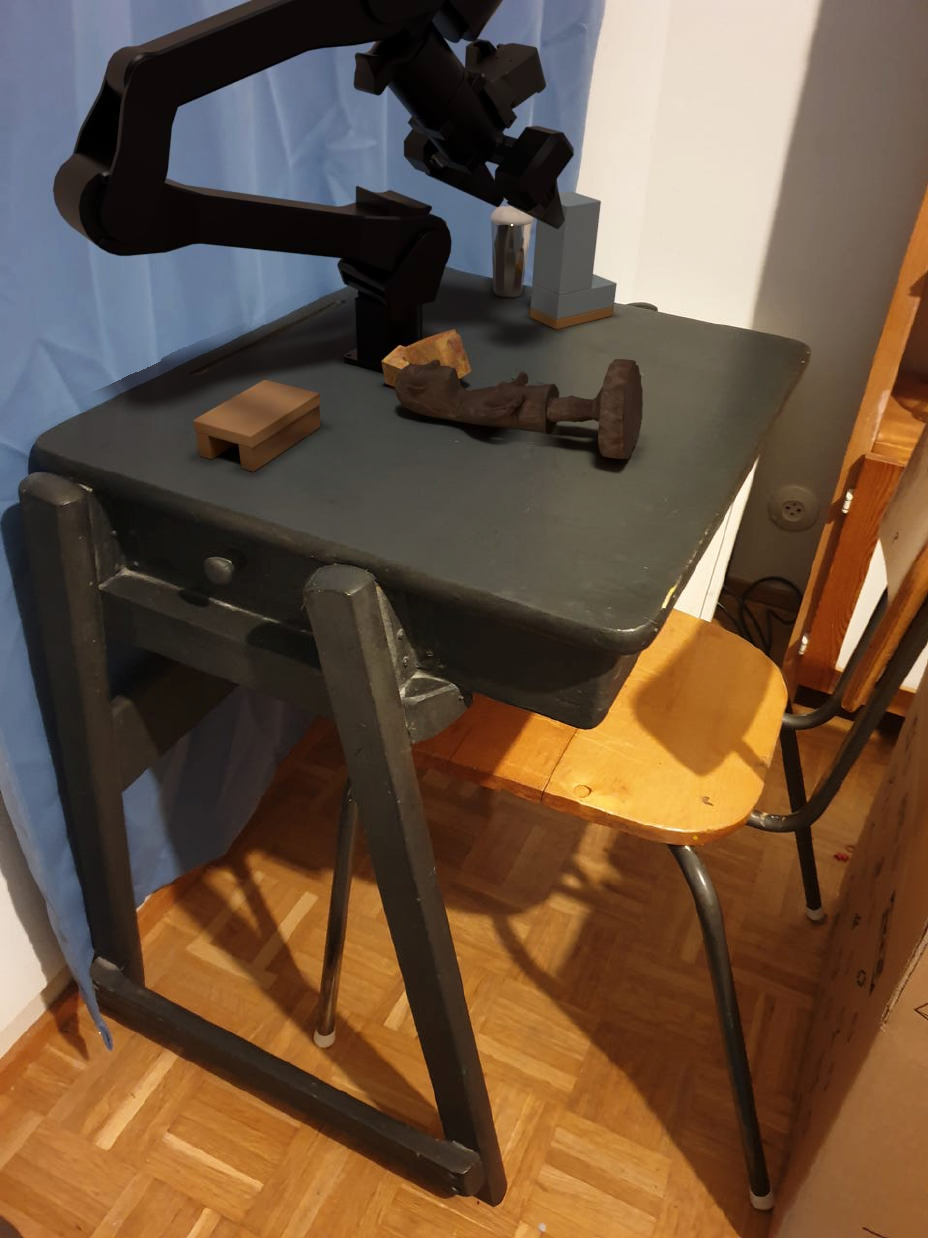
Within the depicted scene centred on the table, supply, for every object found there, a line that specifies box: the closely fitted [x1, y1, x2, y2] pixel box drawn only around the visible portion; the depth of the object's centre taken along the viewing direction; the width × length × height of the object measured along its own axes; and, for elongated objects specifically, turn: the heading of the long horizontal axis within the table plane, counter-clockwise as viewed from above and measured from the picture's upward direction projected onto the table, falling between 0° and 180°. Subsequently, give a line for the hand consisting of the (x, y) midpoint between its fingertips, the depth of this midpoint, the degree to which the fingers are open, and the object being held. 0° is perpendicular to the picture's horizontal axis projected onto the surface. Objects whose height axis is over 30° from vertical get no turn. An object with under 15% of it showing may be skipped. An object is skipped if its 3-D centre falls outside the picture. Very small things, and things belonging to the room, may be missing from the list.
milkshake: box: [490, 205, 535, 298], centre depth 102 cm, size 4×5×10 cm
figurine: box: [394, 358, 644, 460], centre depth 75 cm, size 9×8×20 cm
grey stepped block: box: [529, 191, 618, 330], centre depth 96 cm, size 8×4×12 cm, turn 126°
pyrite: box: [382, 328, 473, 388], centre depth 82 cm, size 5×7×4 cm
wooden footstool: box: [192, 379, 322, 473], centre depth 73 cm, size 9×5×3 cm, turn 153°
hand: (529, 213), depth 89 cm, fingers open, 9 cm apart
